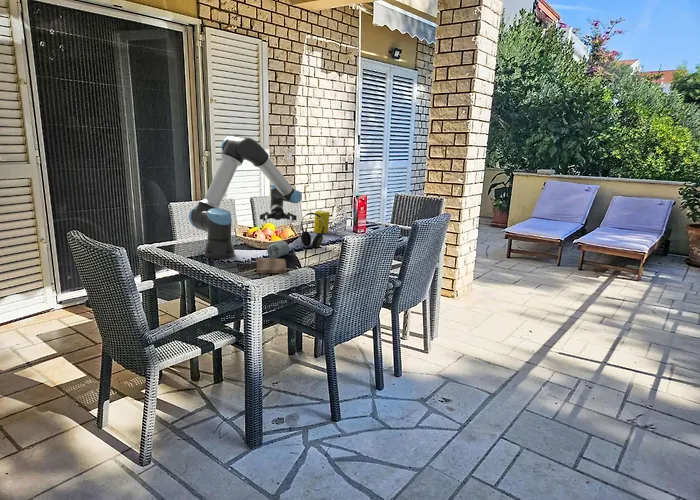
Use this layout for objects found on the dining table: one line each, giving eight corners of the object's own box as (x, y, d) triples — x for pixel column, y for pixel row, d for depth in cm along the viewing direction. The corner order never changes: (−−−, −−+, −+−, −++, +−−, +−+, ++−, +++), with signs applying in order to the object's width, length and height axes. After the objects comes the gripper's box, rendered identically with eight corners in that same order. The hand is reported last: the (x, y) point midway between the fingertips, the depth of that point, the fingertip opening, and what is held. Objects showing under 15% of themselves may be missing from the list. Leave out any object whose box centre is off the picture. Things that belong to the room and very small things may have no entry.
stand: (256, 273, 217) (256, 269, 216) (256, 262, 234) (256, 258, 233) (286, 274, 220) (286, 270, 219) (284, 262, 237) (284, 258, 236)
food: (311, 235, 301) (318, 233, 310) (327, 234, 296) (334, 231, 305) (308, 211, 299) (315, 210, 308) (324, 210, 294) (331, 208, 303)
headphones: (303, 243, 275) (304, 209, 270) (326, 247, 271) (328, 213, 265) (296, 246, 268) (298, 212, 262) (320, 250, 263) (322, 215, 257)
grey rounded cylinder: (278, 256, 235) (274, 237, 237) (264, 260, 240) (261, 242, 242) (295, 257, 247) (292, 239, 249) (281, 261, 252) (278, 244, 253)
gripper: (298, 219, 275) (301, 227, 256) (255, 218, 271) (255, 227, 251) (298, 206, 273) (302, 214, 253) (255, 205, 268) (255, 213, 249)
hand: (278, 220), depth 252 cm, fingers open, 13 cm apart
